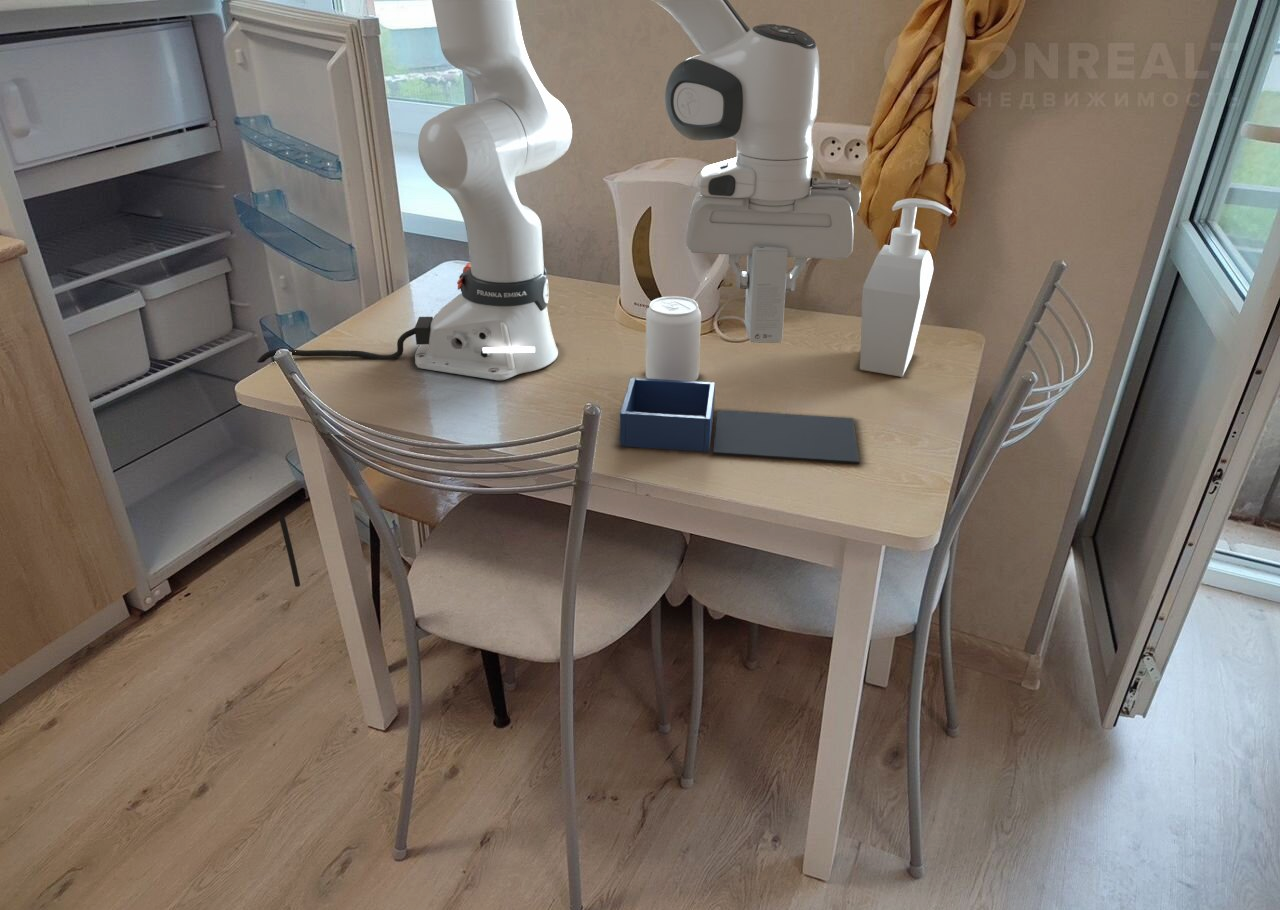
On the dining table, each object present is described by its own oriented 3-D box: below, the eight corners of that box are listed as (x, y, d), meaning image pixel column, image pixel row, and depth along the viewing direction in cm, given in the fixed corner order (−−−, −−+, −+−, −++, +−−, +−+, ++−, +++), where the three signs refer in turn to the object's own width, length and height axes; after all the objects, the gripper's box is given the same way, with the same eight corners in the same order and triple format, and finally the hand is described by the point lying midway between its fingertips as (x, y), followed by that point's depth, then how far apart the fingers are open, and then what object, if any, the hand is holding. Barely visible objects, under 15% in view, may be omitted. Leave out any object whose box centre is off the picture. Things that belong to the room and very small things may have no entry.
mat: (712, 454, 124) (712, 452, 124) (717, 412, 134) (717, 409, 134) (859, 464, 122) (859, 461, 122) (852, 420, 132) (852, 418, 132)
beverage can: (664, 395, 139) (666, 319, 133) (635, 374, 145) (635, 301, 138) (709, 382, 142) (712, 308, 136) (679, 363, 148) (681, 291, 142)
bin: (620, 446, 126) (619, 413, 123) (630, 408, 135) (630, 377, 132) (708, 452, 124) (710, 419, 122) (713, 413, 134) (715, 382, 131)
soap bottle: (917, 385, 142) (946, 216, 129) (851, 373, 145) (873, 207, 132) (930, 354, 152) (958, 194, 138) (868, 343, 155) (890, 186, 142)
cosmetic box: (783, 343, 118) (791, 249, 112) (747, 343, 118) (754, 250, 112) (775, 324, 123) (783, 234, 117) (741, 324, 123) (747, 234, 117)
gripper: (860, 173, 112) (847, 283, 119) (690, 167, 114) (687, 276, 121) (865, 187, 107) (850, 301, 114) (686, 180, 109) (682, 293, 116)
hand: (764, 288), depth 118 cm, fingers closed on cosmetic box, 4 cm apart
